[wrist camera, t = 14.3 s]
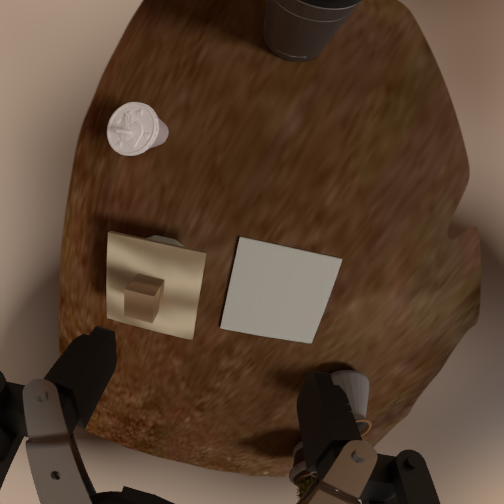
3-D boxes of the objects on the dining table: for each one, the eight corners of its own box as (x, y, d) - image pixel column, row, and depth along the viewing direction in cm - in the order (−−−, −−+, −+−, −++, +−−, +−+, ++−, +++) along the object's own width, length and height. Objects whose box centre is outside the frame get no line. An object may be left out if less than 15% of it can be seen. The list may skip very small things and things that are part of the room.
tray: (239, 236, 42) (239, 237, 42) (341, 258, 43) (342, 259, 43) (220, 326, 47) (220, 328, 47) (310, 341, 48) (311, 343, 48)
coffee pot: (327, 358, 50) (347, 418, 36) (374, 366, 51) (401, 420, 37) (283, 424, 56) (289, 478, 42) (327, 429, 58) (338, 478, 43)
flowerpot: (351, 425, 58) (371, 490, 39) (331, 456, 63) (343, 513, 44) (294, 427, 57) (304, 499, 38) (280, 457, 62) (285, 519, 43)
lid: (110, 230, 37) (90, 243, 31) (206, 251, 38) (199, 268, 32) (109, 315, 41) (93, 335, 35) (193, 336, 42) (186, 360, 36)
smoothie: (140, 159, 38) (93, 164, 25) (132, 119, 36) (83, 107, 23) (181, 148, 38) (148, 146, 25) (173, 106, 36) (137, 86, 23)
